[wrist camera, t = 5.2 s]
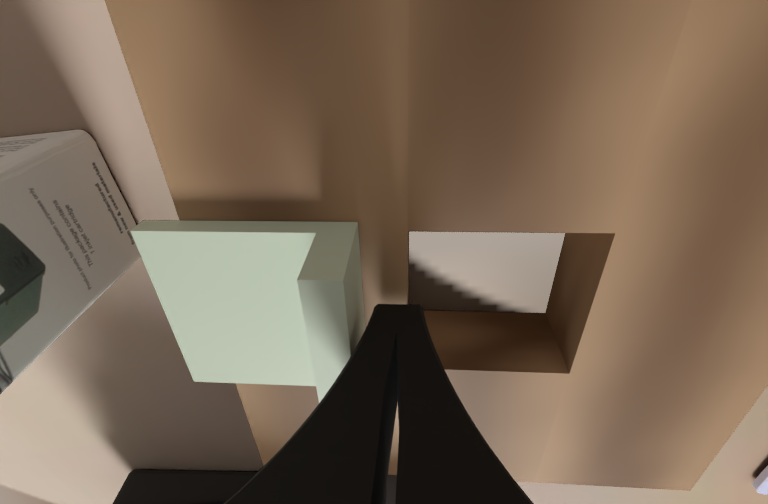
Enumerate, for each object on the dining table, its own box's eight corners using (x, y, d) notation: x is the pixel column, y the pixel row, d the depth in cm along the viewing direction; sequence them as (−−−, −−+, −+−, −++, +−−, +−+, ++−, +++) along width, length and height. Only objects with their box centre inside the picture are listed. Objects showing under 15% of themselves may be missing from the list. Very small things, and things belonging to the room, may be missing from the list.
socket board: (944, -101, 9) (1151, -135, 6) (654, 425, 19) (690, 490, 17) (160, -66, 10) (76, -83, 8) (282, 409, 21) (264, 468, 18)
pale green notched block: (357, 221, 11) (342, 280, 9) (368, 373, 14) (359, 444, 12) (142, 220, 11) (77, 275, 9) (201, 368, 15) (163, 434, 12)
